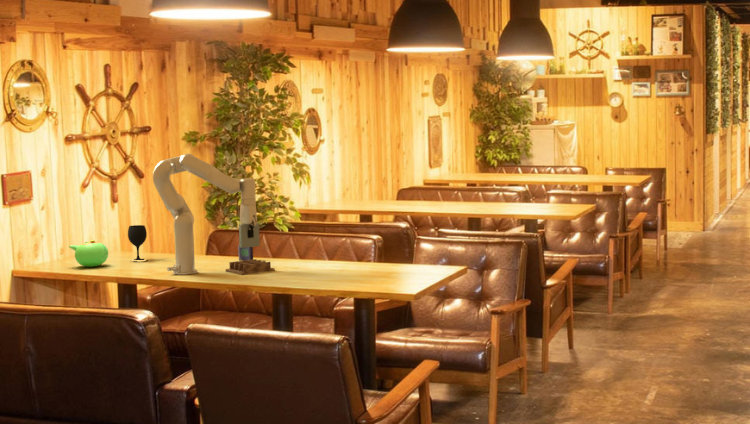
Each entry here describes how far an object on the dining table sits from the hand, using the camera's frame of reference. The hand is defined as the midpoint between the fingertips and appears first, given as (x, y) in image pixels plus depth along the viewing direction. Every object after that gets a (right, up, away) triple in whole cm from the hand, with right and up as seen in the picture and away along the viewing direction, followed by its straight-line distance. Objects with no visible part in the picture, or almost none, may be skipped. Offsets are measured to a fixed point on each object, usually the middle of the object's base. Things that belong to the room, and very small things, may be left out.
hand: (249, 237), depth 496 cm
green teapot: (-90, -17, +26) cm, 95 cm away
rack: (0, -18, +2) cm, 18 cm away
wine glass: (-69, -15, +46) cm, 85 cm away
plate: (0, -5, 0) cm, 5 cm away
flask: (-7, -15, +42) cm, 45 cm away
